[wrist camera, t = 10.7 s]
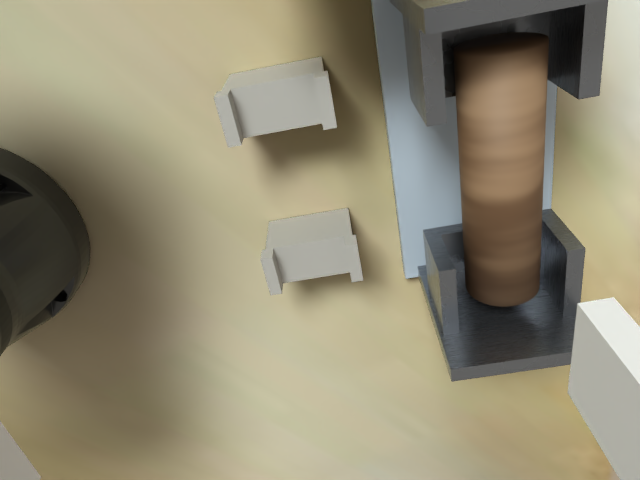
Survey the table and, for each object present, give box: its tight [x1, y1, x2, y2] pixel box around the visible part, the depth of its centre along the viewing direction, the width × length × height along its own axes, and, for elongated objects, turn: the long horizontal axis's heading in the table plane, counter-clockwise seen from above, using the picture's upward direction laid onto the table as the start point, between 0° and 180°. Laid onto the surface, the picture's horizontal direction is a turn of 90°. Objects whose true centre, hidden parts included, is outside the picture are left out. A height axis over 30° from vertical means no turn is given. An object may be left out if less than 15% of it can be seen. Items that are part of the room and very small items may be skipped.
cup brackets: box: [390, 0, 608, 381], centre depth 31 cm, size 9×21×12 cm, turn 10°
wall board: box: [371, 0, 557, 279], centre depth 36 cm, size 11×21×1 cm, turn 10°
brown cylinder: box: [453, 32, 549, 307], centre depth 30 cm, size 15×4×4 cm, turn 10°
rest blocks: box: [214, 57, 363, 295], centre depth 35 cm, size 6×14×5 cm, turn 10°
